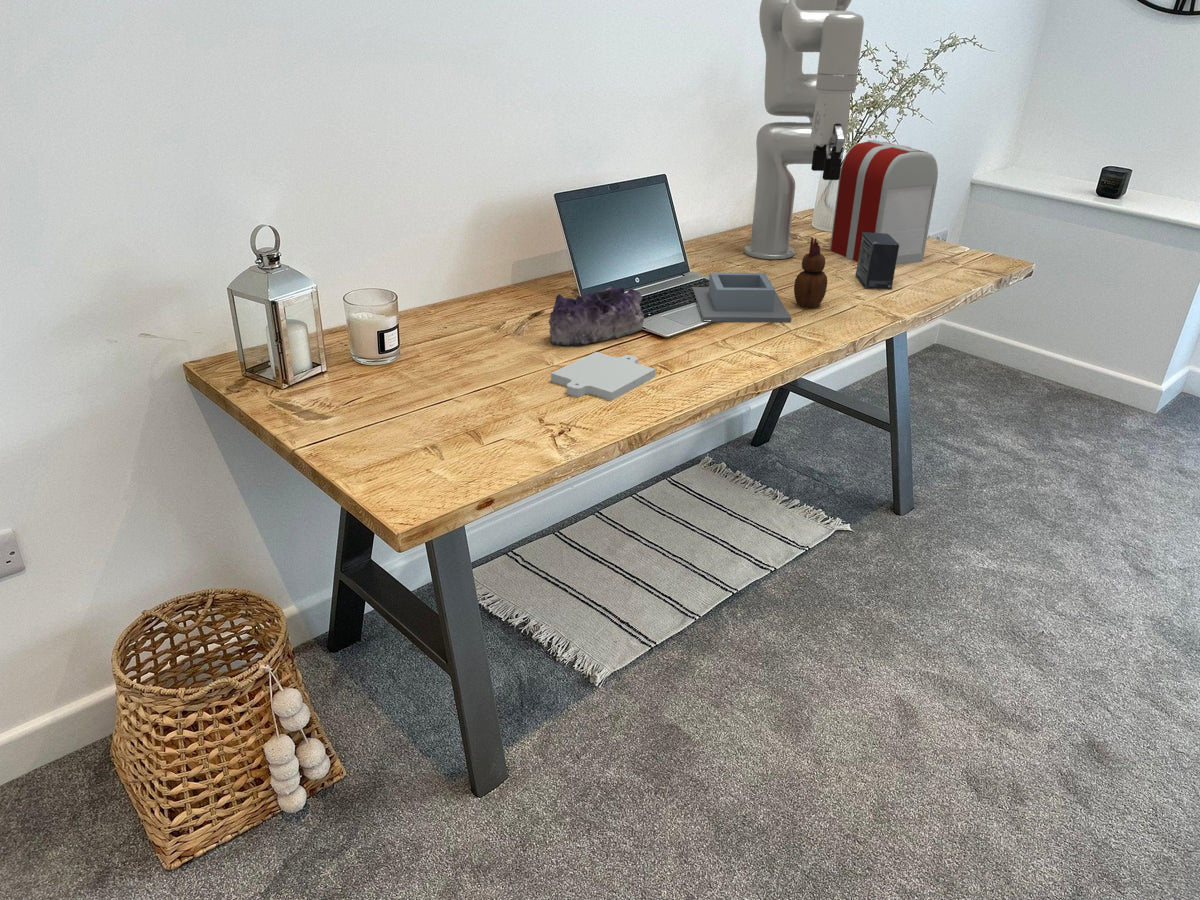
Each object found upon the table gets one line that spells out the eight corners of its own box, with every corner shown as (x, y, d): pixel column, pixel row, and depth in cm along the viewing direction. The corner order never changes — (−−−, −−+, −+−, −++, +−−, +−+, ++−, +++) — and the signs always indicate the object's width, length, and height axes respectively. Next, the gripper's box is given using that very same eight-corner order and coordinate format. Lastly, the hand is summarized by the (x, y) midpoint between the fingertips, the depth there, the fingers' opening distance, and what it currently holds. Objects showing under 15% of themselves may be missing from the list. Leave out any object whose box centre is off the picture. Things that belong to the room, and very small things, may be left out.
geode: (574, 356, 171) (568, 303, 167) (538, 346, 179) (531, 296, 176) (655, 329, 182) (651, 279, 178) (617, 321, 191) (613, 273, 187)
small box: (893, 289, 210) (901, 244, 205) (864, 289, 210) (871, 243, 205) (882, 276, 219) (889, 232, 214) (854, 275, 219) (860, 231, 214)
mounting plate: (602, 407, 152) (602, 397, 151) (541, 387, 158) (541, 377, 158) (662, 374, 165) (663, 364, 164) (604, 357, 171) (604, 347, 170)
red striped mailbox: (879, 244, 245) (895, 137, 233) (924, 261, 231) (945, 149, 218) (827, 249, 239) (841, 141, 227) (871, 268, 225) (889, 153, 212)
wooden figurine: (804, 311, 195) (812, 241, 188) (787, 303, 200) (795, 234, 193) (829, 307, 198) (838, 237, 191) (812, 299, 202) (820, 231, 196)
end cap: (692, 291, 206) (693, 267, 204) (772, 292, 207) (775, 268, 204) (703, 321, 188) (704, 295, 186) (791, 322, 189) (794, 296, 186)
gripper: (806, 79, 186) (797, 167, 194) (827, 88, 170) (816, 183, 178) (843, 79, 186) (832, 167, 194) (867, 89, 171) (854, 183, 178)
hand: (824, 175), depth 186 cm, fingers open, 9 cm apart
